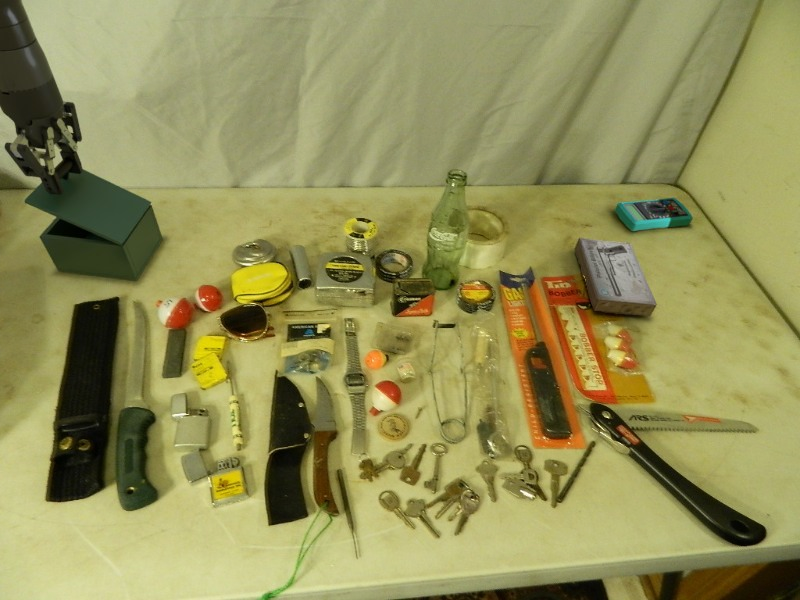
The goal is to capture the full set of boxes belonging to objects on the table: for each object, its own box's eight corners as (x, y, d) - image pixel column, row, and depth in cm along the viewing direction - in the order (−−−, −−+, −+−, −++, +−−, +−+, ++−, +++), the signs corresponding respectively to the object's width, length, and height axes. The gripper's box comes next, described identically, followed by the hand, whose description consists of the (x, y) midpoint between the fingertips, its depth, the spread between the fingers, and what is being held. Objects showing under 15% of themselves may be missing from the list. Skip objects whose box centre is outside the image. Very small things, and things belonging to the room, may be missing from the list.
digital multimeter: (691, 226, 112) (697, 215, 110) (629, 233, 109) (635, 222, 107) (671, 206, 117) (677, 195, 115) (611, 211, 114) (616, 200, 112)
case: (58, 271, 90) (38, 236, 84) (90, 230, 98) (74, 196, 92) (136, 281, 90) (122, 246, 84) (163, 239, 98) (151, 205, 92)
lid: (24, 202, 80) (26, 181, 76) (63, 162, 87) (66, 141, 84) (121, 246, 84) (127, 227, 81) (150, 204, 92) (156, 185, 89)
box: (591, 312, 92) (598, 300, 89) (572, 248, 104) (578, 236, 102) (651, 318, 92) (659, 306, 90) (625, 254, 104) (632, 241, 102)
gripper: (23, 50, 76) (67, 155, 88) (-44, 96, 66) (15, 206, 78) (75, 57, 76) (111, 161, 88) (16, 104, 66) (66, 213, 78)
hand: (66, 182), depth 83 cm, fingers closed on lid, 5 cm apart
